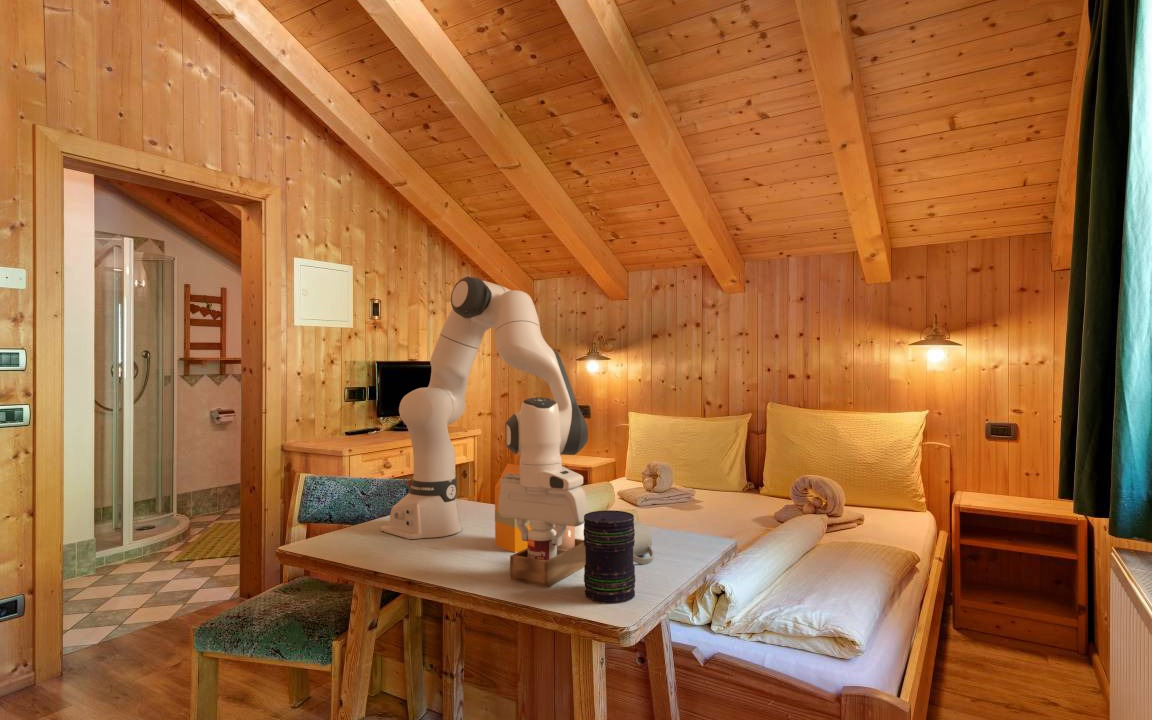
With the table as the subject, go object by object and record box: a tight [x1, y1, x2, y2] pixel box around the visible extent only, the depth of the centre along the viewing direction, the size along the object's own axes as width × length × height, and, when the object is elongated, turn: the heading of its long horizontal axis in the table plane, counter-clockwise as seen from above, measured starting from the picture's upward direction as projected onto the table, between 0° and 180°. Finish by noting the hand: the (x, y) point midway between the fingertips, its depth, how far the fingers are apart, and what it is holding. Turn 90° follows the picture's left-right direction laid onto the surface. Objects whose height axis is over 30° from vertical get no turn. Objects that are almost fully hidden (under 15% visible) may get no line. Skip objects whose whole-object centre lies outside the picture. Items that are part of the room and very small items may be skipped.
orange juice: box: [494, 462, 532, 554], centre depth 153 cm, size 8×9×20 cm
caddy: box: [509, 538, 586, 588], centre depth 133 cm, size 9×18×5 cm, turn 150°
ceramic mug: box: [633, 520, 655, 565], centre depth 141 cm, size 11×8×8 cm
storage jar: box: [583, 509, 636, 605], centre depth 119 cm, size 10×10×15 cm
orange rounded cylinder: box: [552, 524, 576, 550], centre depth 137 cm, size 6×6×8 cm
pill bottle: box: [527, 520, 557, 561], centre depth 130 cm, size 6×6×11 cm
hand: (541, 542), depth 129 cm, fingers closed on pill bottle, 6 cm apart
